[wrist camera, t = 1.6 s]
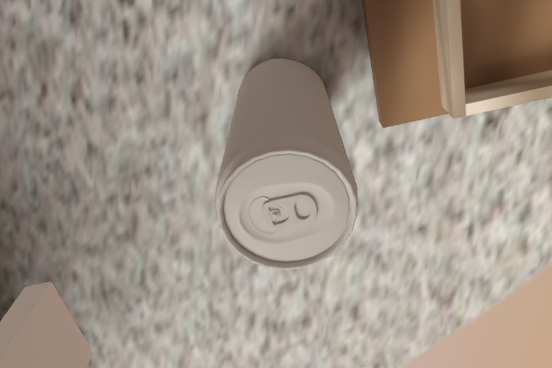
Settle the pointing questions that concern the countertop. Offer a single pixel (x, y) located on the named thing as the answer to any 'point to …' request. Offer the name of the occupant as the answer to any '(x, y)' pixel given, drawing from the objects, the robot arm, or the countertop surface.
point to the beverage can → (285, 171)
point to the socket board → (457, 56)
